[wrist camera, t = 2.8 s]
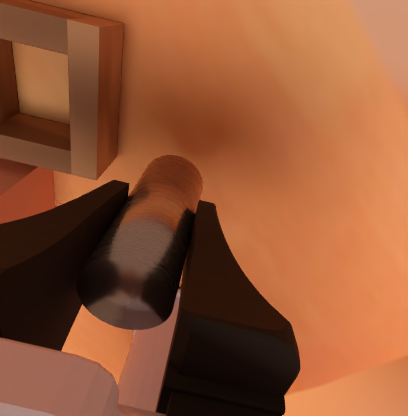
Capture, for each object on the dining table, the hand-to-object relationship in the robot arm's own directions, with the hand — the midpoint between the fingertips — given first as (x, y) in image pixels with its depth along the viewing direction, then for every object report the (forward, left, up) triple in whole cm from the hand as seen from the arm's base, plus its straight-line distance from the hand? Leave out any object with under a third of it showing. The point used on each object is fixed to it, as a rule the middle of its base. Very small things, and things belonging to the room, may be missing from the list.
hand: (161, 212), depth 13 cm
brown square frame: (+2, +8, -6) cm, 10 cm away
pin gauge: (0, 0, -3) cm, 2 cm away
